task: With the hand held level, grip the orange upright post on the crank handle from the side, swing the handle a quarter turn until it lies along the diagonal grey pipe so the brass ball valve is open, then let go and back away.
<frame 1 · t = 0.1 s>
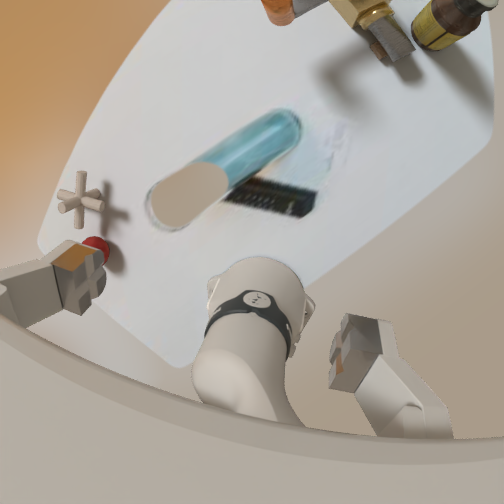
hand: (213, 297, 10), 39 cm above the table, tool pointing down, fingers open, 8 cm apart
ball valve: (353, 3, 34), on the table
onion: (105, 244, 57), on the table
sauce bottle: (426, 34, 34), on the table
pipe connector: (96, 192, 53), on the table
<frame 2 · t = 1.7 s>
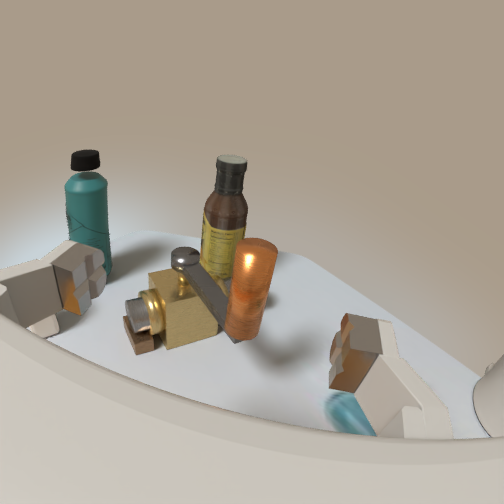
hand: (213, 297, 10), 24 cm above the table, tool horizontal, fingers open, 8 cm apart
ball valve: (182, 326, 41), on the table
beverage bottle: (94, 278, 46), on the table
crank handle: (212, 258, 29), point 14 cm above the table, hinge at 0.0°
pepper shaker: (45, 329, 35), on the table
sauce bottle: (217, 281, 51), on the table
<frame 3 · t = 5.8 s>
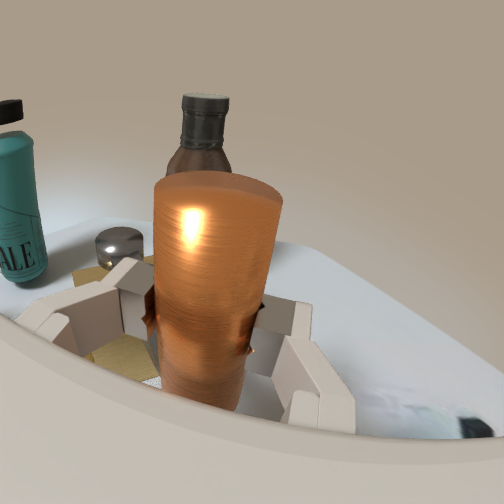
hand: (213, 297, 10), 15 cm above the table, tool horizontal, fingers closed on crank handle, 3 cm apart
ball valve: (132, 354, 25), on the table
beverage bottle: (28, 279, 30), on the table
crank handle: (144, 239, 14), point 14 cm above the table, hinge at 0.0°, touching gripper
sauce bottle: (191, 283, 35), on the table
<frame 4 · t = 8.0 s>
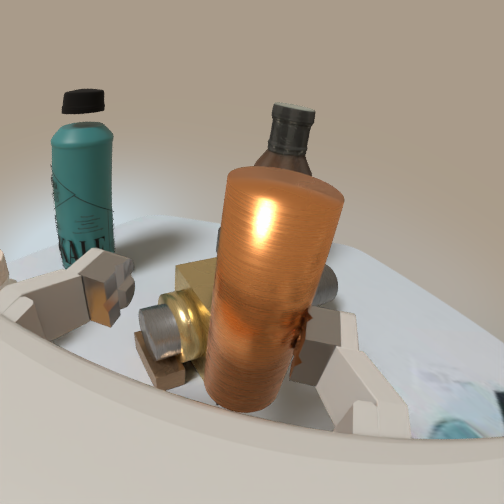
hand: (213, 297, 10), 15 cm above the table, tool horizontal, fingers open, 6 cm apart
ball valve: (223, 345, 28), on the table
beverage bottle: (90, 275, 33), on the table
crank handle: (251, 233, 15), point 14 cm above the table, hinge at 31.8°, touching gripper
pepper shaker: (19, 349, 22), on the table
sauce bottle: (260, 279, 38), on the table
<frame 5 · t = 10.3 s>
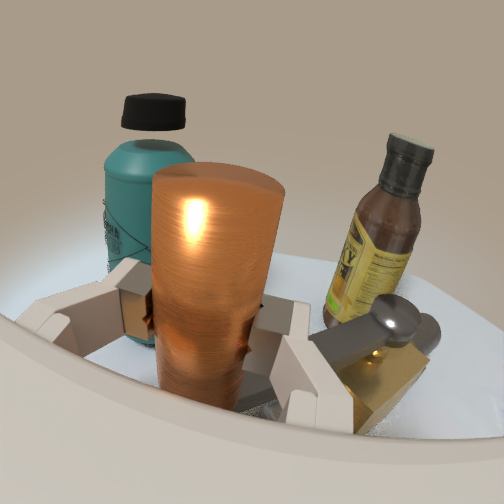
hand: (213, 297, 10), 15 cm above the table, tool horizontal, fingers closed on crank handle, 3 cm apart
ball valve: (335, 414, 23), on the table
beverage bottle: (151, 333, 28), on the table
crank handle: (346, 289, 12), point 14 cm above the table, hinge at 94.9°, touching gripper
sauce bottle: (346, 324, 33), on the table
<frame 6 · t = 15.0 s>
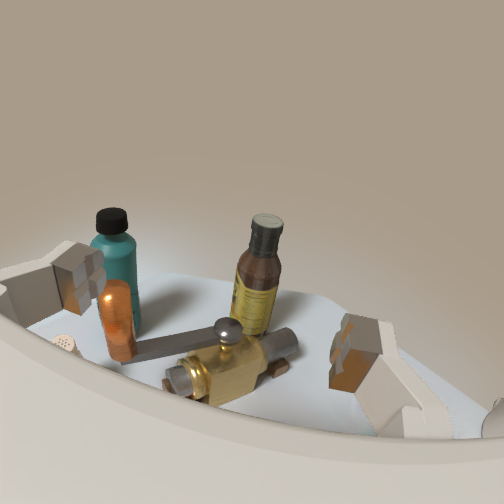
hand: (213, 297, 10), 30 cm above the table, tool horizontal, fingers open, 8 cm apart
ball valve: (219, 384, 41), on the table
beverage bottle: (122, 331, 46), on the table
crank handle: (177, 316, 31), point 14 cm above the table, hinge at 96.0°
pepper shaker: (80, 392, 35), on the table
sauce bottle: (246, 331, 51), on the table
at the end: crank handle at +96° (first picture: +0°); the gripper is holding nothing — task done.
